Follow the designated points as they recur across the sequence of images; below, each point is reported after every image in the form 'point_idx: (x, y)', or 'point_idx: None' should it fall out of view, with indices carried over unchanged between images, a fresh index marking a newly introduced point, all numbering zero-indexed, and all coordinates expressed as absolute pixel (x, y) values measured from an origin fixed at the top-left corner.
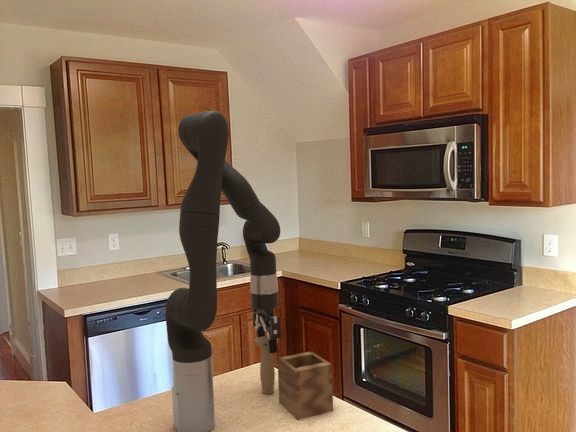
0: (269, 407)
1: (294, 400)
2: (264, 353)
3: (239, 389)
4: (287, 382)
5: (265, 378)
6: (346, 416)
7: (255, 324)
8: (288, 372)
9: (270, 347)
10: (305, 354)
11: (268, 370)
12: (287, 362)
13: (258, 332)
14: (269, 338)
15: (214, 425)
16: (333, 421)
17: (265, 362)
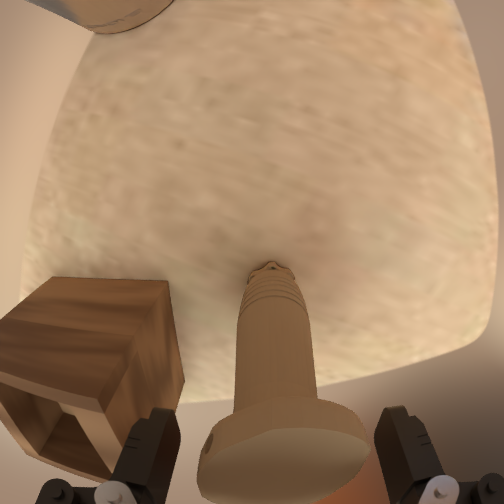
0: (144, 237)
1: (35, 300)
2: (244, 387)
3: (358, 193)
4: (50, 329)
5: (246, 298)
6: None
7: (474, 501)
8: (15, 353)
9: (145, 438)
10: None
11: (238, 332)
12: (33, 392)
13: (408, 478)
14: (105, 490)
15: (97, 32)
16: None
17: (242, 349)
